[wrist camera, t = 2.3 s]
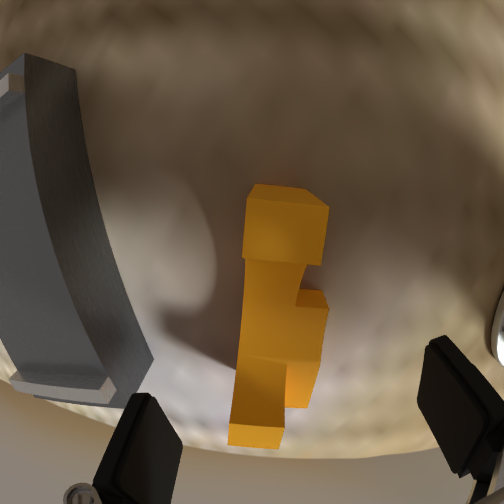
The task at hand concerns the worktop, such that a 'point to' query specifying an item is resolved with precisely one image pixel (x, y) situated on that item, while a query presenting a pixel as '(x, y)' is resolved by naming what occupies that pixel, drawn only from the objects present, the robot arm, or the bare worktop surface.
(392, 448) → the worktop surface
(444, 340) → the robot arm
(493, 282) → the worktop surface
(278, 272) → the orange stepped block
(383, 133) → the worktop surface
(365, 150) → the worktop surface
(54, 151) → the mounting block
